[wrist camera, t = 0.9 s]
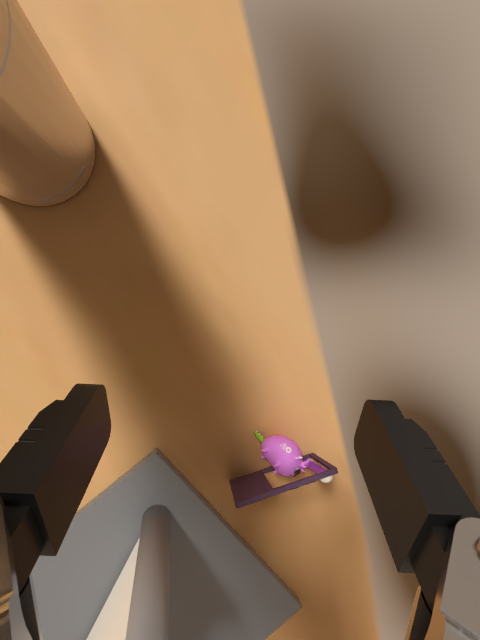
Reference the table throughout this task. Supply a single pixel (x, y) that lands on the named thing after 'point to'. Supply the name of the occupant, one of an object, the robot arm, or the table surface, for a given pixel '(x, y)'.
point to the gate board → (195, 564)
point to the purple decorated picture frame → (279, 470)
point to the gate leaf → (117, 605)
